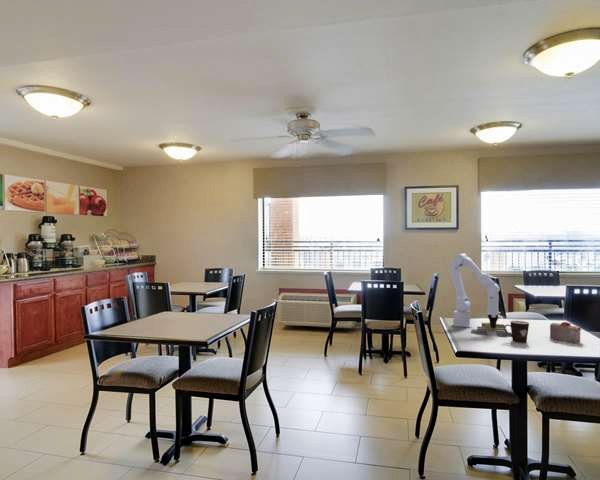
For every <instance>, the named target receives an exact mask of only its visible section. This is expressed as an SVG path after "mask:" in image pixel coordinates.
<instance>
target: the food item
mask: <svg viewBox="0 0 600 480" xmlns="http://www.w3.org/2000/svg"><path fill="white" fill-rule="evenodd" d="M581 331H582V327H581V326H575V325H572V324H571V323H570V322H568V321H567V322H566V321H563V322H561V323H560V322H559V323H558V322H552V323H550V324H549V339H550V340H555V341H560V342H567V343H571V342H573V343H572V344H576V342H577V343H579V342H581Z"/></svg>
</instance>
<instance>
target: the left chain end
mask: <svg viewBox="0 0 600 480" xmlns="http://www.w3.org/2000/svg"><path fill="white" fill-rule="evenodd" d="M471 334H477V335H484V336H487V335H488V330H487V327H482V326H476V329H475V328H471Z"/></svg>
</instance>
